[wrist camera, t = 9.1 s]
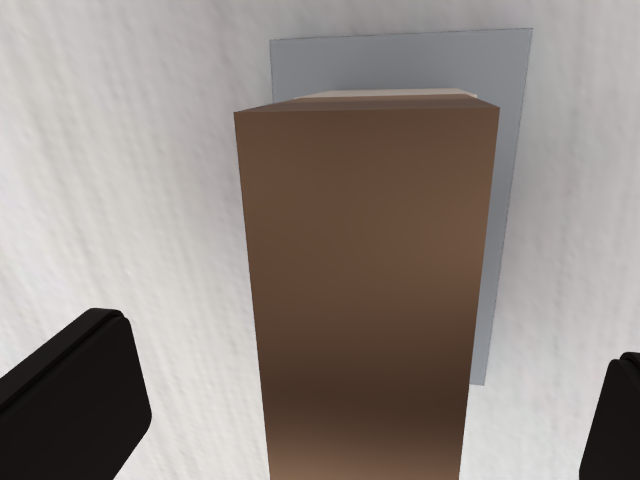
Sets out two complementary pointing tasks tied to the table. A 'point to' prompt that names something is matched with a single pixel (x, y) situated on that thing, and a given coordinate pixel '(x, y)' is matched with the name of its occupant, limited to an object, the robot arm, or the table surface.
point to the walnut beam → (366, 278)
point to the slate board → (417, 73)
